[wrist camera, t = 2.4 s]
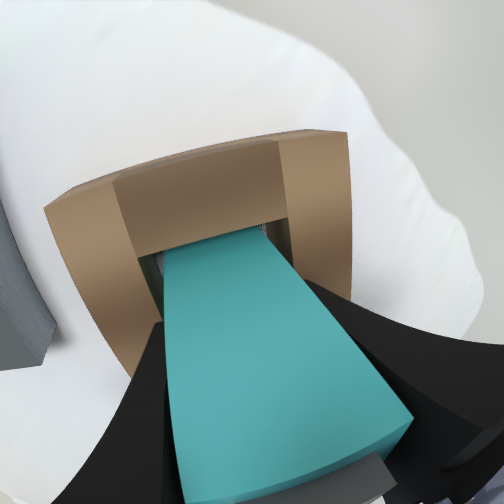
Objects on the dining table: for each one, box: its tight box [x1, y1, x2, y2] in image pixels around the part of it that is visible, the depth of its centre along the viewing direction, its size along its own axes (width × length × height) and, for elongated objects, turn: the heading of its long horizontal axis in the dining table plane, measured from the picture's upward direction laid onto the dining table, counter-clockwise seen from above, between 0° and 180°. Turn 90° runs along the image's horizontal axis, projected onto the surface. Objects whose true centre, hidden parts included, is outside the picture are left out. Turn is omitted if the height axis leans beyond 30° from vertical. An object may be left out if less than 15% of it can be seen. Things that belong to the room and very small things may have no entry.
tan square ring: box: [44, 129, 352, 379], centre depth 11 cm, size 10×10×3 cm
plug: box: [164, 225, 414, 504], centre depth 8 cm, size 4×4×11 cm
